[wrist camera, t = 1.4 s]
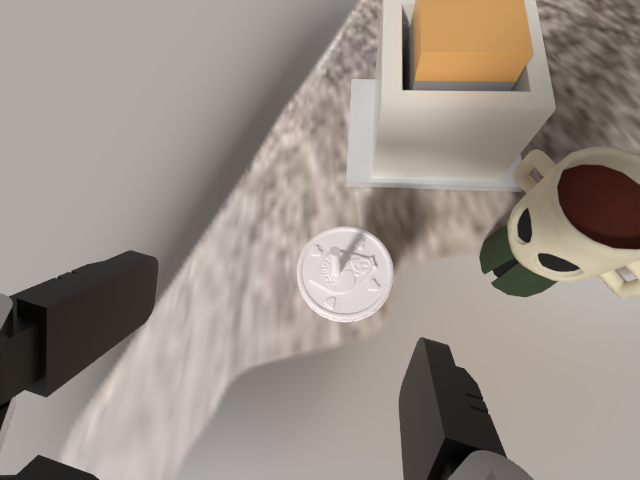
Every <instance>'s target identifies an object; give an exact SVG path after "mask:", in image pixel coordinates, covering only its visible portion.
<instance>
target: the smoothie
mask: <svg viewBox="0 0 640 480" xmlns="http://www.w3.org/2000/svg"><path fill="white" fill-rule="evenodd" d="M393 277H394V270H393V263H392V259H391V256H390V254H389V252H388V250H387V249H386V247H385V246H384V244H383V243H382V242H381V241H380V240H379V239H378V238H377V237H376V236H374V235H373V234H371V233H370V232H368V231H366V230H363V229H361V228H357V227H352V226H338V227H333V228H329V229H326V230H324V231H322V232H320V233H319V234H317V235H316V236H314V237H313V238H312V239H311V240H310V241H309V242H308V243H307V244H306V246H305V247H304V249H303V251H302V252H301V255H300V257H299V260H298V265H297V280H298V285H299V288H300V291H301V293H302V296H303V298H304V299H305V301H306V302H307V303H308V305H309V306H310V307H311V308H312V309H313V310H314V311H316V312H317V313H318V314H319V315H321V316H323V317H325V318H328V319H330V320H332V321H339V322H352V321H359V320H361V319H364V318H366V317H368V316H371V315H372V314H373V313H375V312H376V311H377V310H378V309H379V308H381V307H382V305H383V304H384V302H385V301H386V300H387V298H388V296H389V294H390V291H391V288H392V284H393Z"/></svg>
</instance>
